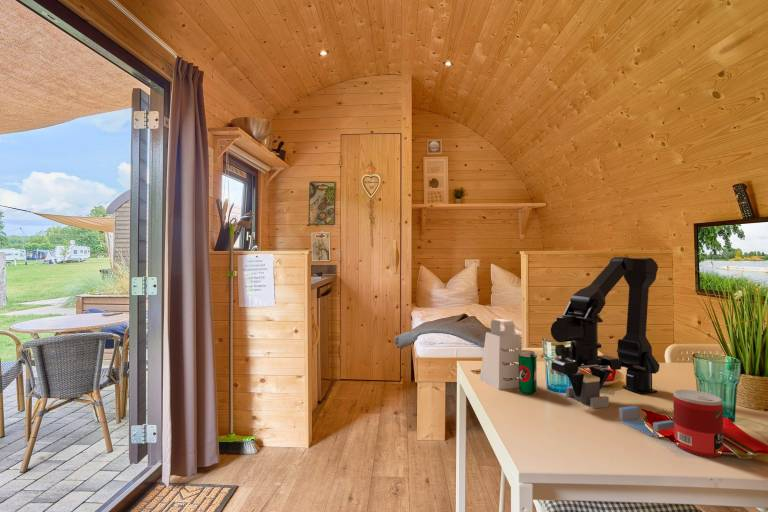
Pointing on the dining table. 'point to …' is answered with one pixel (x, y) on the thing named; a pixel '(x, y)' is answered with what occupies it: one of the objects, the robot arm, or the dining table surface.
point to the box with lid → (589, 389)
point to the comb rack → (627, 415)
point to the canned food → (698, 422)
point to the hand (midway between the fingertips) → (586, 395)
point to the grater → (501, 356)
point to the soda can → (527, 372)
